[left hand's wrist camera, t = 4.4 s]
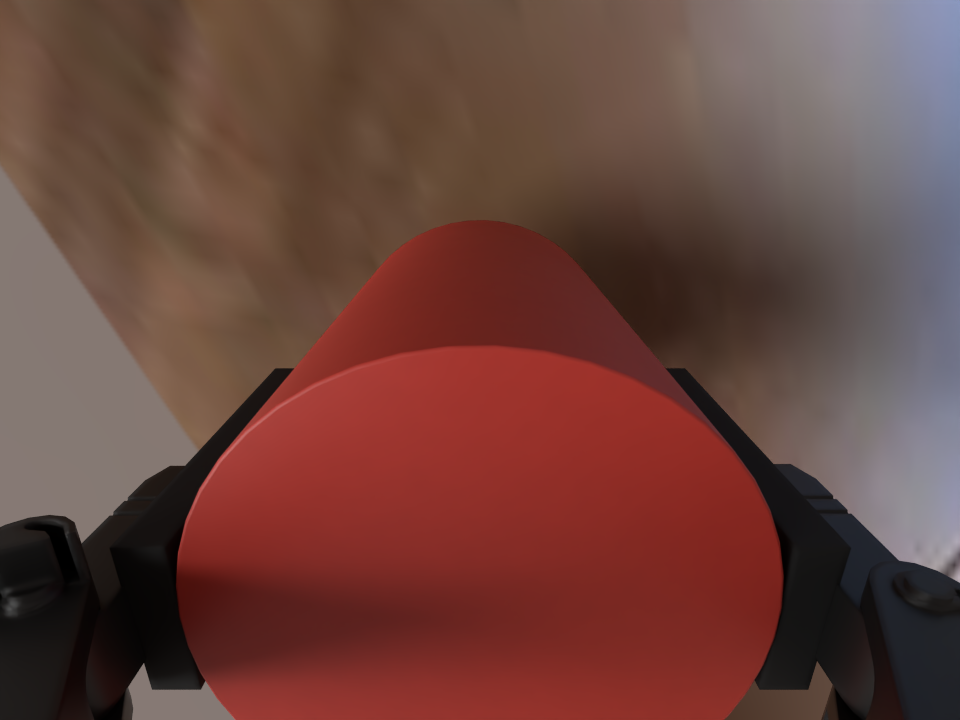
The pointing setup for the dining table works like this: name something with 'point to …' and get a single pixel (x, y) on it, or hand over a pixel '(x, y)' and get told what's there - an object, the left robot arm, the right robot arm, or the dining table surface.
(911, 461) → the dining table surface
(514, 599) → the can
